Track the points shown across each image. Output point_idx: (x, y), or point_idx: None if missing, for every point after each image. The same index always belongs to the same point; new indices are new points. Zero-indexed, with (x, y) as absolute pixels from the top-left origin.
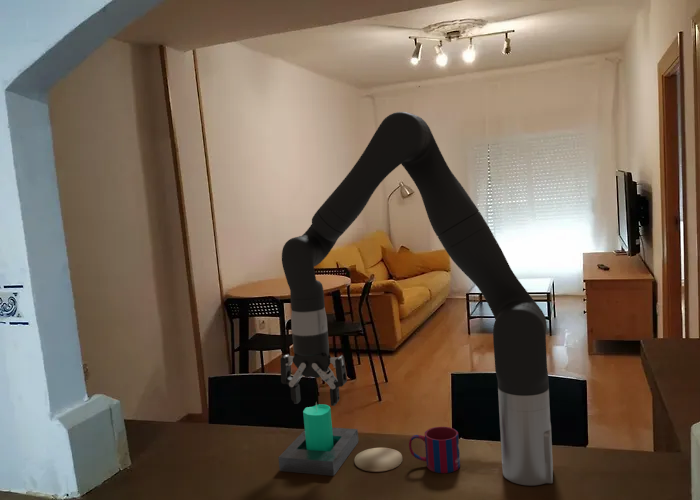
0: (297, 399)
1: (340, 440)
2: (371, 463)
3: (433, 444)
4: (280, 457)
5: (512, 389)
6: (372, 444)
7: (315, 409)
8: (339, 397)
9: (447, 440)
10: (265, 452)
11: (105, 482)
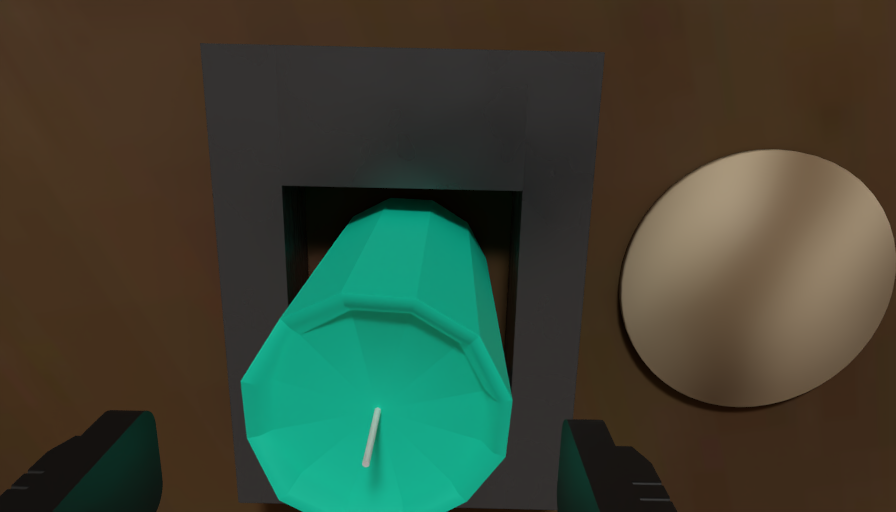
0: (140, 504)
1: (531, 256)
2: (728, 350)
3: None
4: (251, 502)
5: None
6: (683, 79)
7: (342, 365)
8: (655, 471)
9: None
10: (64, 274)
11: None
